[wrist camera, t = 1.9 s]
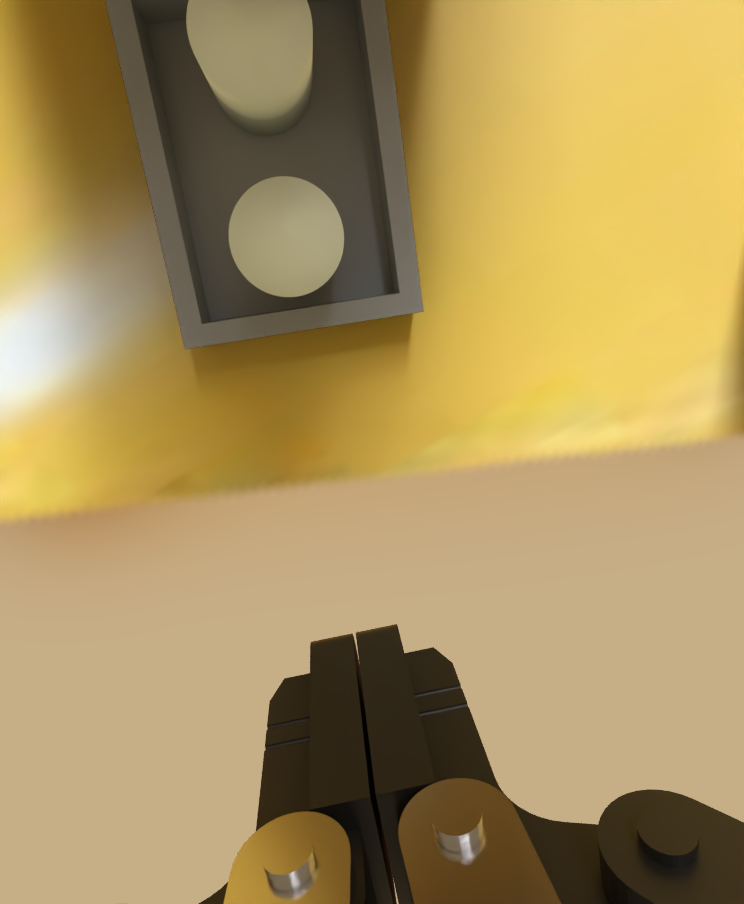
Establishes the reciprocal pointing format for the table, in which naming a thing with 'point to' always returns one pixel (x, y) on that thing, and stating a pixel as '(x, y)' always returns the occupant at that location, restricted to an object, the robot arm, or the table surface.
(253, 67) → the cream cylinder
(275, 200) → the cream piece
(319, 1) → the tray
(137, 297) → the table surface
